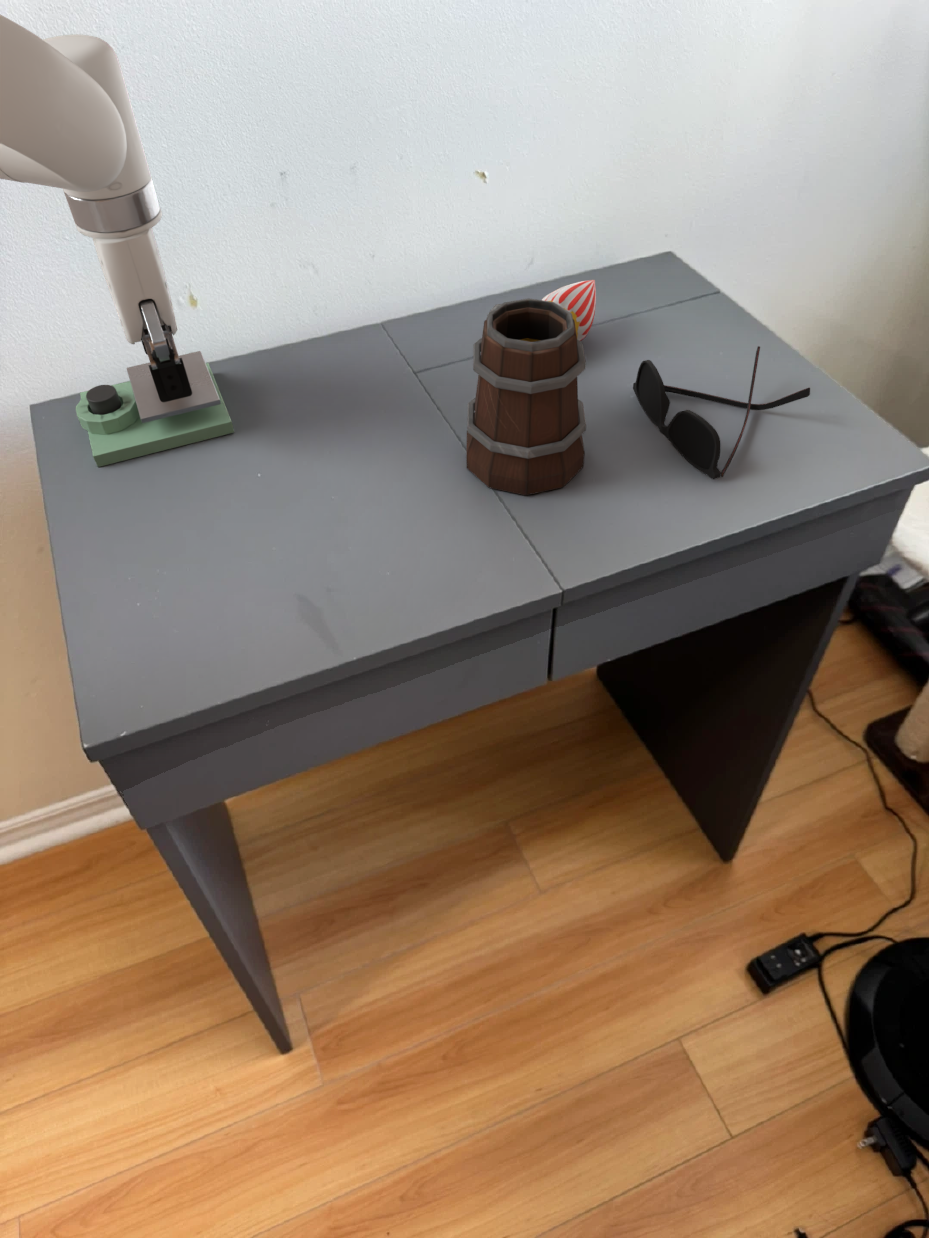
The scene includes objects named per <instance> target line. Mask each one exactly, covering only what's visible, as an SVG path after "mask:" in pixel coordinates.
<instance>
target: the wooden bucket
mask: <svg viewBox="0 0 929 1238" xmlns="http://www.w3.org/2000/svg"><path fill="white" fill-rule="evenodd" d="M472 347H473V348H472V349H473V350H472V354H473V355H472V356H473V357H472V359H473V360H472V362H473V364H472V366H473V367H472V369H473V372H474V373H475V374H477V384H476V391H475V397H473V399H471V400H470V401H469V402H467V415H466V416H467V417H466V420H467V424H466V425H467V427H466V428H467V430H466V450H465V451H466V454H465V455H466V456H465V458H466V460H465V461H466V469H467V470H468V471H469V472H470V473H472V474H473V475H474V476H475V477H476V478H477V479H479V481H481V482H482V483H483V484H484V485H485V486H486V487H488V488H489V489H494V490H497V491H498V490H499V491H504V492H508V493H513V494H517V495H522V496H530V495H533V494H540V493H543V492H544V493H545V492H549V491H552V490H556V489H557V490H558V489H563V488H564V487H565V486H566V485H567V484H568V483H569V482H570V481H571V480H572V479H573V478H574V477H575V476H576V475H577V474H578V473H579V472H580V471H581V470H582V469H583V468H584V463H585V462H584V461H585V454H586V453H585V447H584V446H585V445H584V439H583V434H584V433H586V431H587V421H586V415H585V409H584V402H583V401H581V400H580V399H579V394H578V393H579V392H578V391H579V387H578V376H580V375H581V374H582V373H583V372H584V371H585V370H586V364H587V363H586V355H585V350H584V349H585V348H584V345H583V342H582V340H581V341H579V340H577V335H576V328H575V321H574V319H573V317H572V313H570V312H568V311H567V310H565V309H564V308H562V307H561V306H559V305H557V304H556V303H554V302H550V301H543V300H542V299H536V298H529V297H528V298H523V299H517V300H511V301H505V302H503V303H498V304H494V305H493V307H492V308H491V309H490V310H489V312H488V313H487V315H486V319H485V320H484V321H483V327H482V334H481V338H480V339H478V340H477V341H475V342H474V343H473V346H472Z"/></svg>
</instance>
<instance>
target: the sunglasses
mask: <svg viewBox="0 0 929 1238" xmlns="http://www.w3.org/2000/svg"><path fill="white" fill-rule="evenodd" d="M760 350H761V346H759V345H758V346H757V348H756V351H755V356H754V363H753V368H752V375H751V381H750V388H749V394H748V399H747V400H748V401H747V402H744V401H739V400H735V399H731V398H727V397H722V396H719V395H714V394H709V393H705V392H700V391H696V390H691V389H687V388H682V387H678V386H677V387H675V386H671V385H667V384H664V381H663V378H662V376H661V374H660V372H659V370H658V368H657V367H656V366H655V364H654V363H653V361H652V360H650V359H646V360H645V359H644V360H643V361H641V362H640V364H639V367H638V369H637V374H636V378H635V382H633V383H632V389H633V391H634V394H635V397H636V398H637V401H638V403H639V405H640V407H641V409H642V410H643V412H644V413H645V415H646V416H647V417H648V419H649V420H650V421H651V422H652V423H653V424H654V425H655V426H656V427H657V429H658V431H659V432H660V434H662V436H664V437H665V438H666V439H667V440H668V441H669V443H670V445H671V446H672V447H673V448H674V449H675V450H676V451H677V452H678V453H679V454H680V455H681V456H682V457H683V458H684V459H685V460H686V461H687V462H688V463H689V464H691V465H692V466H693V467H694V468H696V469H697V470H699V471H700V472H701V473H703V474H704V475H706V476H707V477H709V478H711V479H713V480H716V479H719V478H721V477H722V478H723V477H724V476H725V474H726V472H727V470H728V468H729V467H730V464H731V462H732V459H733V458H734V456H735V454H736V451H737V449H738V447H739V445H740V443H741V440H742V437H743V434H744V432H745V429H746V426H747V422H748V419H749V416H750V412H751V411H750V410H752V411H766V410H770V409H774V408H777V407H780V406H784V405H786V404H787V405H788V404H790V403H793V402H796V401H799V400H802V399H805V398H808V397H810V395H811V387H806V388H804V389H801V390H799V391H796V392H793V393H791V394H788V395H786V396H784V397H781V398H778V399H776V400H772V401H769V402H765V403H752V399H753V394H754V393H753V392H754V387H755V381H756V375H757V369H758V363H759V356H760V352H761V351H760ZM667 393H670V394H676V395H682V396H686V397H690V398H695V399H699V400H700V399H701V400H704V401H710V402H713V403H719V404H723V405H728V406H732V407H737V408H740V409H746V412H745V417H744V421H743V425H742V427H741V431H740V433H739V436H738V438H737V440H736V442H735V445H734V447H733V449H732V451H731V453H730V455H729V457H728V459H727V461H726V463H725V465H724V466H723V469H719V468H718V464H719V460H720V456H721V448H722V447H721V446H722V445H721V438H720V436H719V433H718V432H717V430H716V428H715V427H714V426H712V424H710V422H709V421H708V420H707V419H705V418H704V417H703V416H701V415H700V414H697V413H696V412H694V411H693V410H691V409H684V410H681V411H678V412H676V414H675V415H674V416H673V417H672V418H671V420H670V421H669V423H668V424H667V425H666V424H665V423H666V419H667V415H668V413H669V409H670V405H671V400H670V398H669V396H668V395H667Z"/></svg>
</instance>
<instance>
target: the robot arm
mask: <svg viewBox="0 0 929 1238" xmlns="http://www.w3.org/2000/svg"><path fill="white" fill-rule="evenodd" d="M137 122H138V121H137V119H136V115H135V112H134V108H133V105H132V101H131V98H130V94H129V90H128V87H127V84H126V80H125V76H124V73H123V69H122V65H121V63H120V60H119V57H118V55H117V53H116V51H115V50H114V48H113V47H112V46H111V45H110V44H109V42H108V41H105V40H104V39H102V38H100V37H97V36H94V35H88V34H77V33H76V34H63V35H56V36H51V37H47V38H44V39H42V38H41V37H40V36H39V35H37V34H35V33H33V32H32V31H30V30H29V29H27V28H25V27H24V26H22V25H20V24H18V23H17V22H15V21H14V20H12V19H10V18H8V17H6V16H4V15H2V14H0V180H5V181H10V182H17V183H23V184H26V183H27V184H32V185H39V186H45V187H50V188H51V187H52V188H56V189H57V188H58V189H62V190H63V193H64V196H65V199H66V202H67V205H68V207H69V210H70V213H71V216H72V219H73V222H74V224H75V228H76V230H77V231H78V232H79V233H80V234H81V235H83V236H85V237H88V238H91V239H92V241H93V245H94V248H95V253H96V255H97V258H98V261H99V265H100V269H101V270H102V273H103V274H102V275H103V277H104V279H105V281H106V285H107V288H108V290H109V293H110V296H111V299H112V302H113V305H114V308H115V311H116V313H117V315H118V320H119V322H120V326H121V327H122V330H123V331H122V332H123V334H124V337H125V340H126V342H127V343H129V344H131V345H135V344H136V343H139V342H141V345H142V348H143V351H144V353H145V354H146V356H147V357H148V360H149V363H151V365H148V366H149V369H150V372H151V375H152V378H153V381H154V384H155V387H156V390H157V393H158V396H159V399H160V401H161V402H168V401H172V400H176V399H180V398H184V397H189V396H191V395H192V390H191V387H190V383H189V380H188V377H187V373H186V370H185V367H184V363H183V360H182V358H179V356H180V355H179V353H178V350H177V346H176V343H175V340H174V336H175V335H176V333H177V332H178V325H177V321H176V314H175V311H174V306H173V300H172V297H171V293H170V288H169V283H168V281H167V276H166V272H165V269H164V264H163V260H162V257H161V254H160V250H159V246H158V244H157V239H156V237H155V233H154V229H153V228H154V227H155V226H156V225H157V224H159V223H160V222H161V220H162V218H163V212H162V211H163V210H162V208H161V205H160V201H159V198H158V194H157V191H156V187H155V183H154V181H153V180H154V179H153V176H152V173H151V170H150V165H149V163H148V158H147V156H146V152H145V148H144V143H143V140H142V136H141V132H140V130H139V126H138V123H137ZM149 342H152V343H153V346H154V349H155V350H153V352H152V349H151V346H150V343H149Z"/></svg>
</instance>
